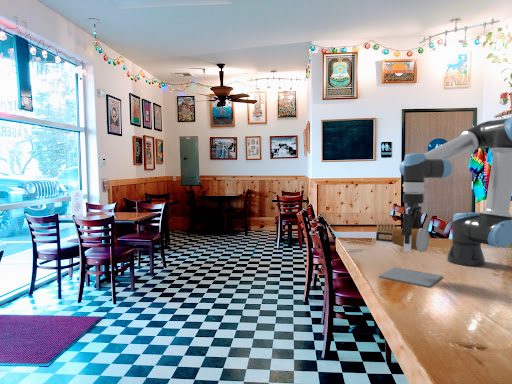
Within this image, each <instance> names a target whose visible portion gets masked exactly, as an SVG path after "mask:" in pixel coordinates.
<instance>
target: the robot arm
mask: <svg viewBox="0 0 512 384" xmlns="http://www.w3.org/2000/svg"><path fill="white" fill-rule="evenodd" d="M483 148H489V151H490V152H491V153H492V158H491V166H490V174H489V180H488V181H489V182H488V188H487V193H486V200H485V206H484V207H485V208H484V209H483V210H482V211H480V212H456V213H454V215H453V217H452V230H451V231H452V234H451V235H452V236H451V237H452V239H451V246H450V248H449V250H448V253H447V257H446V259H447V262H449V263H453V264H456V265H462V266H470V267H481V266H484V265H485V264H486V263H485V262H486V260H485V255H484V252H483V250H482V244H483V245H487V246H491V247H494V248H495V247H497V248H506V247H508V246H510V245H511V244H512V214H511V213H510V208H511V207H510V206H511V201H512V117H507V118H502V119H497V120H496V119H494V120H487V121H484V122H481V123H479V124H477V125H475V126H473V127H470V128H469V129H466V130H464V131H462V132H461V133H460V135H459V136H457V137H455V138H453V139H451V140H449V141H447V142H445V143H443V144H441V145H439V146H437V147H435V148H433V149H431V150H428V151H426V152H424V153H407V154H405V155H404V158H403V159H404V160H402V161H401V163H399V172H400V174H401V175H402V176H403V184H402V187H403V189H402V191H403V194H402V202H403V204H406V207H405V208H403V216H402V217H403V218H402V226H401V227H402V228H401V229H402V233H401V234H402V235H404V247H403V252H405V253H412V249H411V245H412V236H411V231H412V229H420V228H422V206H421V205H420V206H419V204H423V203H424V198H425V196H424V195H425V194H423V193H424V192H425V179H426V178H427V179H445V178H448V177H449V176H450V175H451V174H452V172H453V166H452V165H453V164H452V163H451V161H450V160H453V159H456V158H457V157H459V156H461V155H463V154H465V153H466V152H473V151H476V150H478V149H483Z"/></svg>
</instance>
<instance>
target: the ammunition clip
mask: <svg viewBox="0 0 512 384" xmlns="http://www.w3.org/2000/svg"><path fill="white" fill-rule="evenodd" d="M394 229H396V224H395V221H393V222H392V221H390V222H389V221H385V220H384V221H382V220H380V222H379V220H377V224H376V233H375V234H376V235H375V236H376V237H375V241H379V242H388V243H393V242H392V233H393V231H394Z"/></svg>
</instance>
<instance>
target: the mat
mask: <svg viewBox="0 0 512 384" xmlns="http://www.w3.org/2000/svg"><path fill="white" fill-rule="evenodd" d="M378 278H381V279H386V280H391V281H396V282H400V283H404V284H410V285H415V286H419V287H424V288H431V287H432V286H433V285H434V284H436V283H437V282H438V281H439V280H441V279H442V278H443V275H442V274H441V275H440V274H436V273H435V274H434V273H429V272H425V271H424V272H423V271H419V270H414V269H407V268H402V267H401V268H400V267H396V266H395V267H393V268H391V269H388V270H387V271H385V272H383V273H382V274H380V275H378Z"/></svg>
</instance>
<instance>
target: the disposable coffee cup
mask: <svg viewBox="0 0 512 384" xmlns="http://www.w3.org/2000/svg"><path fill="white" fill-rule="evenodd" d="M429 232H430V231H429V230H428V229H426V228H425V227H421V228H420V229H412V231H411V236H412V245H411V250H415V251H417V252H419V253H423V252H426V251H427V250H428V248H429V241H430V233H429ZM401 233H402V228H395V229H394V231H393V233H392V242H391V243H392V244H393V245H396V246H398V247H403V248H404V235H402V234H401Z"/></svg>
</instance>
